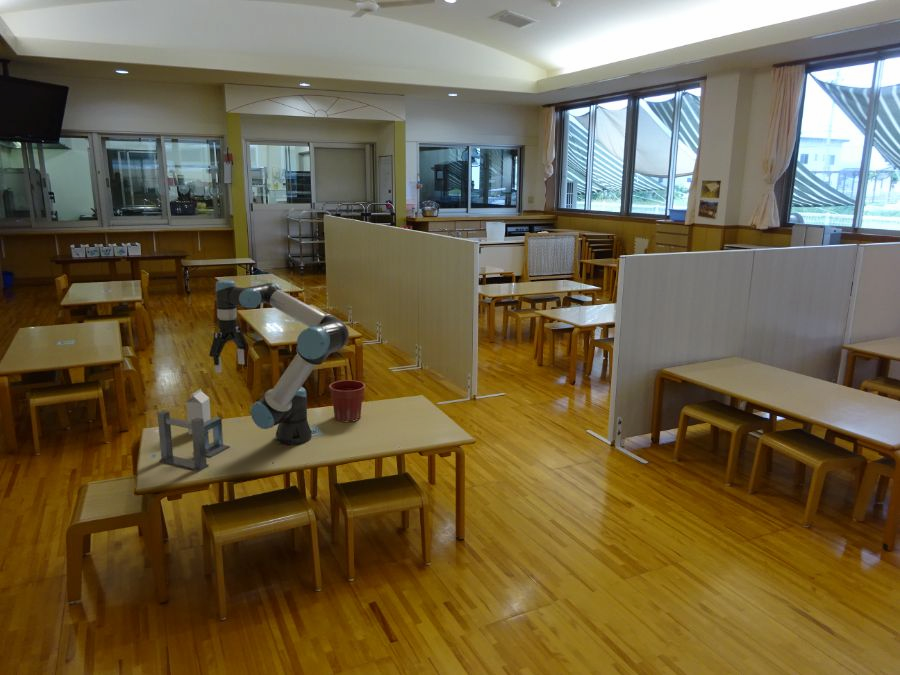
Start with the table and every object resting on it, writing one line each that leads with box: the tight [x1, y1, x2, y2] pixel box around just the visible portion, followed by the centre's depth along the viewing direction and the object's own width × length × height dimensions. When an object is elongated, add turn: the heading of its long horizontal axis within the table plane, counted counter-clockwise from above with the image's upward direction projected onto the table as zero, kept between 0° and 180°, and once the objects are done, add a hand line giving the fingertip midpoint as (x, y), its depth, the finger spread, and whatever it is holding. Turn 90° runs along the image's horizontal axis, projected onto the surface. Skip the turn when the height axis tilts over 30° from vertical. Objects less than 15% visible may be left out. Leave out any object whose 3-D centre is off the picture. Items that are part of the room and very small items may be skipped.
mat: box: [192, 442, 231, 458], centre depth 264 cm, size 9×11×1 cm
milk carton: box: [185, 388, 212, 436], centre depth 279 cm, size 7×7×19 cm
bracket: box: [204, 416, 224, 454], centre depth 262 cm, size 10×3×12 cm, turn 157°
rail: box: [157, 410, 210, 472], centre depth 249 cm, size 20×5×20 cm, turn 67°
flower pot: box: [329, 379, 366, 422], centre depth 301 cm, size 16×16×16 cm
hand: (230, 368), depth 268 cm, fingers open, 13 cm apart
